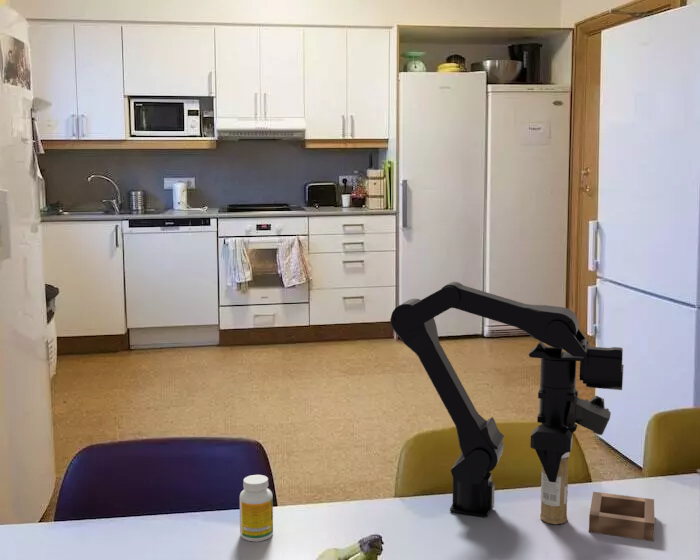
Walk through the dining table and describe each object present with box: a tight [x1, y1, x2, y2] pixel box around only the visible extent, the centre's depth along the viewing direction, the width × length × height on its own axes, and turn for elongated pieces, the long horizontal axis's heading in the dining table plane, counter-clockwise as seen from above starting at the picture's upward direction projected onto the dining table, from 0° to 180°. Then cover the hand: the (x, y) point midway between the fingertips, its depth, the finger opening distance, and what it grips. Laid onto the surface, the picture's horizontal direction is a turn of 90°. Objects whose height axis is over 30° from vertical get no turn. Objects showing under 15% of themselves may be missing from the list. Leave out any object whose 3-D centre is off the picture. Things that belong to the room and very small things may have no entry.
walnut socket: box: [588, 491, 656, 542], centre depth 136 cm, size 10×10×3 cm
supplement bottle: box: [238, 474, 274, 543], centre depth 132 cm, size 5×5×10 cm
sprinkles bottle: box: [539, 452, 571, 525], centre depth 137 cm, size 5×5×13 cm
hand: (554, 474), depth 137 cm, fingers open, 7 cm apart
